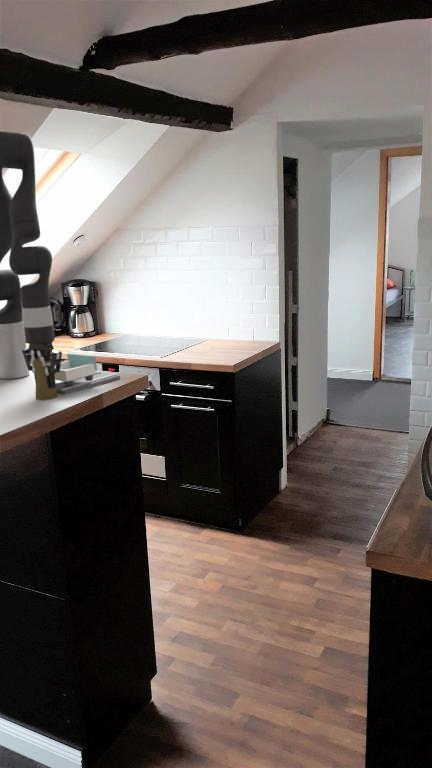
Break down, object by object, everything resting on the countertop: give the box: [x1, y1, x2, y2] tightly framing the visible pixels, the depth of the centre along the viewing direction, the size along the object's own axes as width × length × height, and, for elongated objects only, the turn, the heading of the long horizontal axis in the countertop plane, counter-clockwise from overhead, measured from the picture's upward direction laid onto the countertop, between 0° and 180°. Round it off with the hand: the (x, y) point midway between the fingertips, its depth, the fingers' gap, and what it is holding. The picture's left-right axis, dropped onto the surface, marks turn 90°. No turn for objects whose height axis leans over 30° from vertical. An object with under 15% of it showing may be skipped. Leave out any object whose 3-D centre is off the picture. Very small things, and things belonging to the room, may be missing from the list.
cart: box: [55, 353, 98, 387], centre depth 171 cm, size 11×11×7 cm
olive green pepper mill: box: [32, 358, 59, 401], centre depth 162 cm, size 6×6×11 cm
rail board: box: [55, 371, 121, 396], centre depth 175 cm, size 10×21×1 cm, turn 144°
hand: (45, 387), depth 162 cm, fingers closed on olive green pepper mill, 4 cm apart
